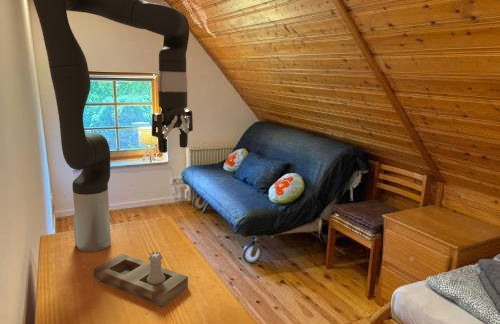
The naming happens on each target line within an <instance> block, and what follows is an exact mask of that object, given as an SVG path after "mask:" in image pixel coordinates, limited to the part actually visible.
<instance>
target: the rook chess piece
mask: <svg viewBox="0 0 500 324" xmlns="http://www.w3.org/2000/svg"><path fill="white" fill-rule="evenodd" d="M163 258H164V257H163V255H162V253H161V251H152V252H151V253H150V254H149V256H148V260H149V261H150V262H149V263H150V266H151V269H150V274H149V276H148V278H147V284H150V285H152V286H155V287H158V286H159V285H161V284H162V283H164V282H165V276H164V274H163V273H162V269H161V267H162V264H163V263H162V260H163Z"/></svg>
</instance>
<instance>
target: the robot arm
mask: <svg viewBox="0 0 500 324" xmlns="http://www.w3.org/2000/svg"><path fill="white" fill-rule="evenodd" d="M32 2H33V5H34V7H35V11H36V14H37V17H38V20H39V25H40V28H41V31H42V37H43V41H44V47H45V50H46V56H47V62H48V68H49V73H50V79H51V82H52V87H53V91H54V95H55V96H54V97H55V101H56V107H57V113H58V120H59V121H58V122H59V131H60V133H59V134H60V142H61V143H60V145H61V152H62V156H63V158H64V161H65V163H66V164H67V165H68V166H69V168H71V169H72V170H73V171H80V170H82V171H81V172H80V174H79V175H78V176H77V177H76V178H74V180H73V181H72V197H73V199H72V200H73V208H74V209H73V211H74V214H72V221H73V222H72V223H73V233H74V235H73V236H74V245H75V246H77V247H76V248H77V249H78V251H81V252H85V253H91V252H92V253H93V252H94V253H95V252H98V251H103V250H105V249H107V248H108V247H109V246H111V244H112V237H111V235H112V234H111V219H110V203H109V201H110V200H109V199H110V198H109V181H110V179H111V149H110V145H109V142H108V140H107V138H106V137H105V136H104V135H103V134H101V133H98V132H90V133H86V131H85V127H84V126H85V124H84V111H85V107H86V105H87V102H88V98H89V95H90V91H91V77H90V70H89V66H88V61H87V58H86V55H85V53H84V51H83V49H82V47H81V46H80V44H79V42H78V39H77V38H76V36H75V35H74V33H73V31H72V28H71V25H70V23H69V22H70V21H69V19H68V12H77V13H85V14H91V15H96V16H99V17H102V18H104V19H108V20H110V21H113V22H116V23H118V24H122V25H126V26H128V27H132V28H135V29H140V30H145V31H148V32H151V33H154V34H156V35H160V36H163V44H162V48H161V49H160V51H159V53H158V79H157V86H158V88H157V89H158V91H157V95H158V107H159V108H160V109H161V111H160V113H158V112H157V113H156V112H155V113H154V112H153V113H152V114H151V136H152V137H155V138H157V139H158V141H157V144H158V151H159V152H160V153H164V154H166V153H167V152H168V136H169V133H170V132H172V130H174V129H177V130H178V131H179V147H180V148H183V149H187V148H188V143H189V140H188V139H189V138H188V135H189V134H190V132H193V130H194V125H193V123H194V121H193V111H192V110H190V109H186V108H188V78H187V77H188V76H187V51H188V45H189V38H190V23H189V20H188V18H187V16H186V15H185V13H183V12H182V11H180V10H177V8H174V7H171V6H168V5H165V4H160V3H154V2H148V1H147V0H32Z"/></svg>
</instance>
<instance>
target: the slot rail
mask: <svg viewBox="0 0 500 324" xmlns="http://www.w3.org/2000/svg"><path fill="white" fill-rule="evenodd" d="M150 269H151V266H150V262H147V261H145V260H142V259H139V258H136V257H133V256H130V255H127V254H124V253H120V254H118V255H116V256H114V257H113V258H110V259H109V260H106V261H105V262H102V263H100V264H99V265H97V266H95V267H93V279H94V280H96V281H98V282H101V283H103V284H105V285H108V286H110V287H112V288H114V289H117V290H120V291H122V292H124V293H127V294H130V295H132V296H135V297H137V298H140V299H141V300H144V301H147V302H149V303H151V304H154V305H156V306H159V307H162V308H164V307H166V305H168V304H169V303H170V302H172V300H175V299H176V298H177V297H178V296H179V295H181V294H182V293H183V292H184V291H185V290H187V289H188V288H189V276H188V275H185V274H183V273H182V274H181V273H180V272H176V271H174V270H170V269H167V268H164V267H162V266H161V269H162V273H163V274H164V276H165V282H164V283H162V284H161V285H159V286H158V287H155V286H152V285H150V284H147V278H148V276H149V274H150Z"/></svg>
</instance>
